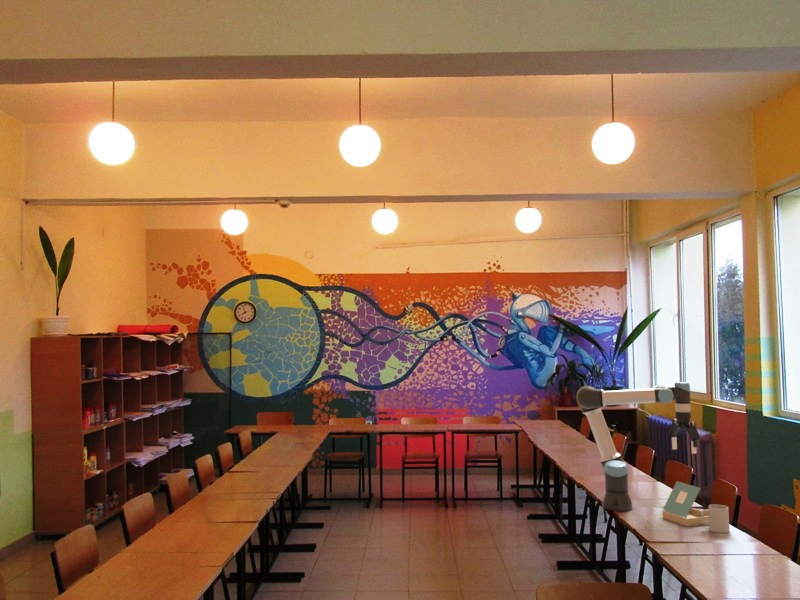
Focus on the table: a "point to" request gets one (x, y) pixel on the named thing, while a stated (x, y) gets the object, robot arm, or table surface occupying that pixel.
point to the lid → (681, 499)
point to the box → (690, 520)
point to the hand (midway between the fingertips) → (684, 451)
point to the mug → (717, 518)
